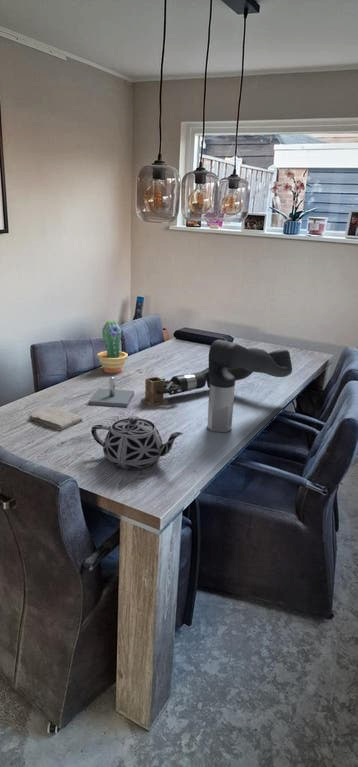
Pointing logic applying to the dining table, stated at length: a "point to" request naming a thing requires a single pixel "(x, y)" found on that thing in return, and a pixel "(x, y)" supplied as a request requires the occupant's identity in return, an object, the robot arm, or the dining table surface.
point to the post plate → (111, 396)
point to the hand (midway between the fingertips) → (151, 389)
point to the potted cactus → (112, 348)
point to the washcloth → (55, 418)
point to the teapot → (133, 443)
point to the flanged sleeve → (153, 392)
